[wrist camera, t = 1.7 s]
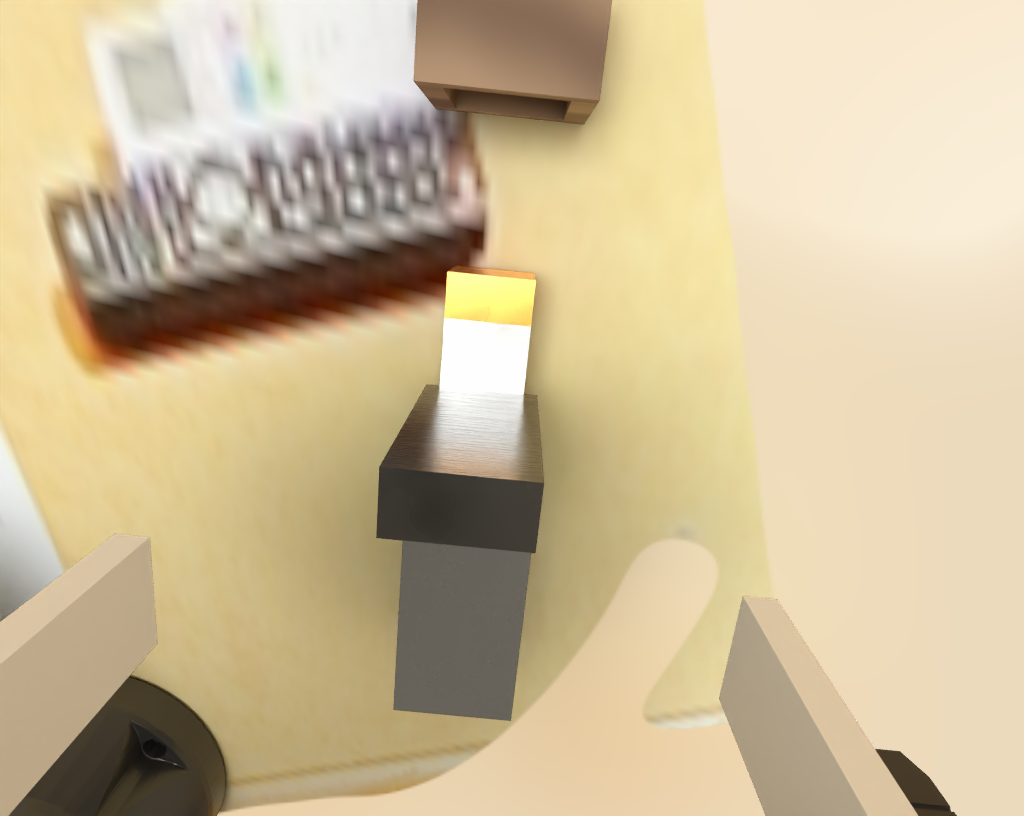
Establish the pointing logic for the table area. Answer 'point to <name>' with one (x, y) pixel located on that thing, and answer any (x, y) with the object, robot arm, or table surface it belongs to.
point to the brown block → (513, 56)
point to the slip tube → (471, 427)
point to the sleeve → (459, 629)
